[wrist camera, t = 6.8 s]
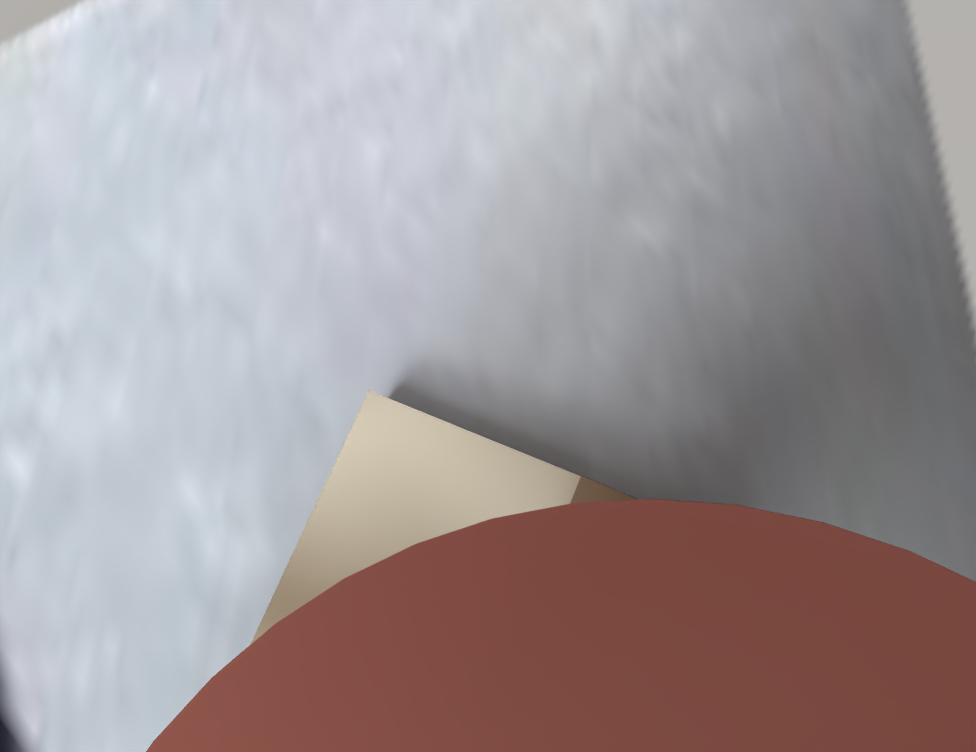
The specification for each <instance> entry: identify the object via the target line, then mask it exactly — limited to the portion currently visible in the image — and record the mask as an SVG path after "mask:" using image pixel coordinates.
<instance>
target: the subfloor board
mask: <svg viewBox="0 0 976 752" xmlns="http://www.w3.org/2000/svg"><path fill="white" fill-rule="evenodd" d="M624 500H639V499H637V498H635V497H632V496H630V495H627V494H625V493H622V492H620V491H617V490H615V489H612V488H610V487H607V486H605V485H602V484H600V483H598V482H595V481H593V480H590V479H588V478H585V477H583V476H579V475H576V474H574V473H571V472H569V471H566V470H564V469H562V468H559V467H557V466H554V465H552V464H549V463H547V462H544V461H542V460H539V459H537V458H534V457H532V456H530V455H527V454H525V453H522V452H520V451H517V450H515V449H512V448H510V447H507V446H505V445H502V444H500V443H497V442H495V441H493V440H490V439H488V438H485V437H483V436H480V435H478V434H475V433H473V432H470V431H468V430H465V429H463V428H461V427H458V426H456V425H453V424H451V423H448V422H446V421H443V420H441V419H438V418H436V417H433V416H431V415H429V414H426V413H424V412H421V411H419V410H416V409H414V408H411V407H409V406H406V405H404V404H401V403H399V402H397V401H394V400H392V399H389V398H387V397H384V396H382V395H379V394H377V393H374V392H372V391H368V393H367V395H366V397H365V400H364V402H363V404H362V406H361V408H360V410H359V412H358V415H357V417H356V419H355V421H354V423H353V425H352V427H351V430H350V432H349V434H348V436H347V438H346V440H345V443H344V445H343V447H342V449H341V451H340V453H339V455H338V458H337V460H336V462H335V464H334V466H333V468H332V470H331V473H330V475H329V477H328V479H327V481H326V483H325V486H324V488H323V490H322V492H321V494H320V496H319V498H318V501H317V503H316V505H315V507H314V509H313V511H312V513H311V516H310V518H309V520H308V522H307V524H306V526H305V529H304V531H303V533H302V535H301V537H300V539H299V541H298V544H297V546H296V548H295V550H294V552H293V554H292V556H291V559H290V561H289V563H288V565H287V567H286V569H285V571H284V574H283V576H282V578H281V580H280V582H279V584H278V587H277V589H276V591H275V593H274V595H273V597H272V599H271V602H270V604H269V606H268V608H267V610H266V612H265V614H264V617H263V619H262V621H261V623H260V625H259V627H258V630H257V632H256V634H255V636H254V638H253V640H252V642H251V644H252V643H253V642H254V641H256V640H257V639H258V638H259V637H260V636H261V635H263V634H264V633H265V632H266V631H267V630H268V629H270V628H271V627H272V626H273V625H274V624H275V623H277V622H279V621H280V620H282V619H283V618H285V617H286V616H288V615H289V614H291V613H292V612H294V611H295V610H297V609H298V608H300V607H301V606H303V605H304V604H306V603H307V602H309V601H311V600H312V599H314V598H315V597H317V596H318V595H320V594H321V593H323V592H324V591H326V590H327V589H329V588H330V587H332V586H333V585H335V584H336V583H338V582H339V581H341V580H343V579H344V578H346V577H348V576H350V575H352V574H354V573H357V572H359V571H361V570H363V569H365V568H367V567H369V566H371V565H373V564H375V563H377V562H379V561H381V560H383V559H385V558H388V557H390V556H392V555H394V554H396V553H398V552H400V551H402V550H404V549H406V548H408V547H410V546H412V545H414V544H417V543H420V542H423V541H426V540H429V539H432V538H435V537H438V536H441V535H444V534H447V533H450V532H453V531H456V530H459V529H462V528H465V527H468V526H471V525H474V524H477V523H480V522H483V521H486V520H489V519H492V518H497V517H503V516H508V515H513V514H518V513H524V512H529V511H534V510H539V509H545V508H550V507H555V506H561V505H566V504H571V503H589V502H607V501H624Z"/></svg>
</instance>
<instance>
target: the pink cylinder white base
mask: <svg viewBox="0 0 976 752" xmlns="http://www.w3.org/2000/svg"><path fill="white" fill-rule="evenodd" d="M146 752H976V582H975V581H972V580H970V579H968V578H966V577H964V576H962V575H960V574H957V573H955V572H953V571H951V570H949V569H947V568H945V567H943V566H940V565H938V564H936V563H934V562H932V561H930V560H928V559H926V558H923V557H921V556H919V555H917V554H915V553H913V552H911V551H908V550H905V549H902V548H899V547H896V546H893V545H890V544H887V543H884V542H881V541H878V540H875V539H872V538H869V537H866V536H863V535H860V534H857V533H854V532H851V531H848V530H845V529H842V528H839V527H836V526H833V525H829V524H826V523H823V522H819V521H814V520H809V519H804V518H799V517H794V516H789V515H784V514H779V513H774V512H769V511H764V510H759V509H754V508H749V507H744V506H739V505H729V504H716V503H702V502H689V501H675V500H661V499H642V500H624V501H607V502H589V503H571V504H566V505H561V506H555V507H550V508H545V509H539V510H534V511H529V512H524V513H518V514H513V515H508V516H503V517H497V518H492V519H489V520H486V521H483V522H480V523H477V524H474V525H471V526H468V527H465V528H462V529H459V530H456V531H453V532H450V533H447V534H444V535H441V536H438V537H435V538H432V539H429V540H426V541H423V542H420V543H417V544H414V545H412V546H410V547H408V548H406V549H404V550H402V551H400V552H398V553H396V554H394V555H392V556H390V557H388V558H385V559H383V560H381V561H379V562H377V563H375V564H373V565H371V566H369V567H367V568H365V569H363V570H361V571H359V572H357V573H354V574H352V575H350V576H348V577H346V578H344V579H343V580H341V581H339V582H338V583H336V584H335V585H333V586H332V587H330V588H329V589H327V590H326V591H324V592H323V593H321V594H320V595H318V596H317V597H315V598H314V599H312V600H311V601H309V602H307V603H306V604H304V605H303V606H301V607H300V608H298V609H297V610H295V611H294V612H292V613H291V614H289V615H288V616H286V617H285V618H283V619H282V620H280V621H279V622H277V623H275V624H274V625H273V626H272V627H271V628H270V629H268V630H267V631H266V632H265V633H264V634H263V635H261V636H260V637H259V638H258V639H257V640H256V641H254V642H253V643H252V644H251V645H250V646H249V647H247V648H246V649H245V650H244V651H243V652H242V653H240V654H239V655H238V656H237V657H236V658H235V659H233V660H232V661H231V662H230V663H229V664H227V665H226V666H225V667H224V668H223V669H222V670H220V671H219V672H218V673H217V674H216V675H215V676H213V677H212V678H211V679H210V680H209V682H208V683H207V684H206V685H205V686H204V687H203V688H202V689H201V690H200V691H199V692H198V694H197V695H196V696H195V697H194V698H193V699H192V700H191V701H190V702H189V703H188V704H187V705H186V707H185V708H184V709H183V710H182V711H181V712H180V713H179V714H178V715H177V716H176V717H175V719H174V720H173V721H172V722H171V723H170V724H169V725H168V726H167V727H166V728H165V729H164V731H163V732H162V733H161V734H160V735H159V736H158V737H157V738H156V739H155V740H154V741H153V743H152V744H151V746H150V747H149V748H148V750H147V751H146Z"/></svg>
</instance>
